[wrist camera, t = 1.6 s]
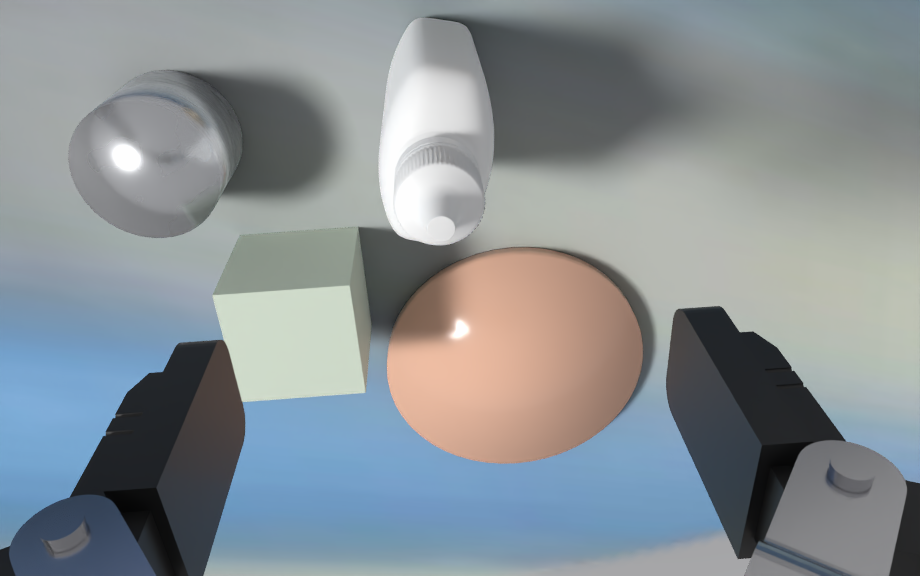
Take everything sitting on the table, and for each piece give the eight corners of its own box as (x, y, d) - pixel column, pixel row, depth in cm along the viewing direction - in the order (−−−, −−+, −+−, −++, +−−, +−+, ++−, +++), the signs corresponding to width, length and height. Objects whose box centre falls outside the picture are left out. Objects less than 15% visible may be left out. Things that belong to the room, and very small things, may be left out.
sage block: (240, 234, 31) (212, 295, 27) (358, 225, 31) (349, 285, 27) (262, 332, 33) (240, 402, 29) (371, 323, 34) (365, 392, 29)
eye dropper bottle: (520, 67, 28) (584, 192, 18) (433, 178, 30) (443, 348, 20) (428, -7, 26) (438, 83, 16) (343, 116, 28) (303, 265, 18)
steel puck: (93, 74, 27) (47, 106, 24) (228, 65, 27) (201, 95, 24) (131, 197, 30) (94, 242, 26) (254, 189, 30) (233, 232, 26)
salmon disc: (373, 257, 32) (373, 266, 31) (648, 237, 32) (653, 246, 31) (399, 461, 38) (399, 472, 37) (629, 442, 38) (633, 453, 37)
